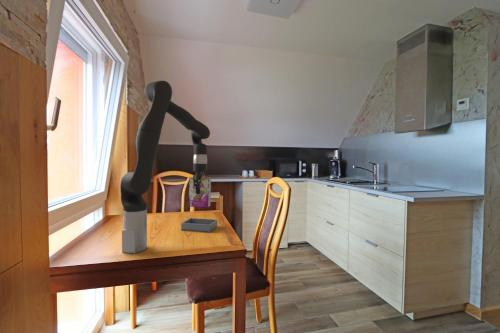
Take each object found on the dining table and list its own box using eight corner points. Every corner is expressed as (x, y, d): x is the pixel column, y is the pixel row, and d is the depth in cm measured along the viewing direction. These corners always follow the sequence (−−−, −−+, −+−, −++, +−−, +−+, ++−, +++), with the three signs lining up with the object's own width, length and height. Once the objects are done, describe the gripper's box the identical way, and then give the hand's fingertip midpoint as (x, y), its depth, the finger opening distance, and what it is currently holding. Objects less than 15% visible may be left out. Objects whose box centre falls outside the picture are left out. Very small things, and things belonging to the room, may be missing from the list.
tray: (210, 232, 131) (210, 225, 131) (181, 230, 134) (181, 223, 134) (217, 226, 143) (217, 219, 142) (190, 224, 146) (190, 217, 145)
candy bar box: (188, 207, 136) (188, 177, 135) (191, 205, 141) (191, 176, 140) (208, 207, 135) (208, 177, 134) (210, 205, 140) (211, 176, 139)
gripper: (201, 163, 129) (201, 195, 130) (211, 162, 143) (210, 191, 144) (188, 162, 130) (188, 194, 131) (198, 162, 144) (198, 191, 145)
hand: (199, 193), depth 137 cm, fingers closed on candy bar box, 5 cm apart
